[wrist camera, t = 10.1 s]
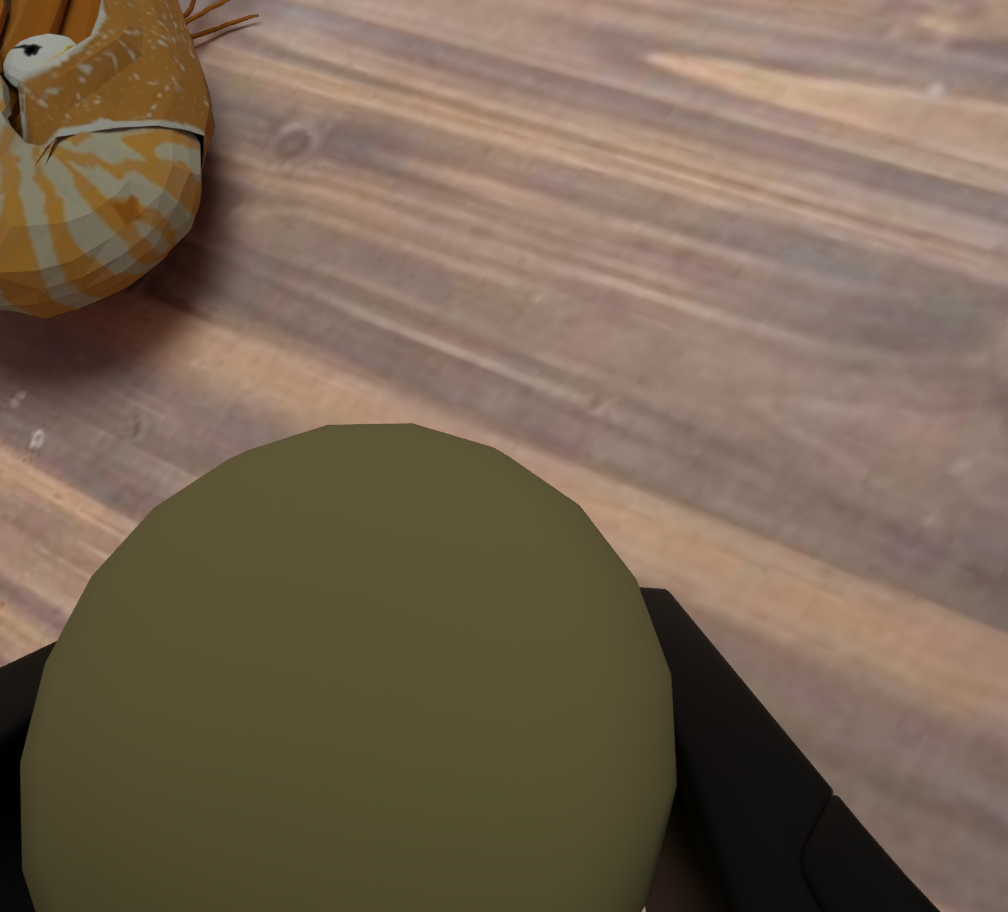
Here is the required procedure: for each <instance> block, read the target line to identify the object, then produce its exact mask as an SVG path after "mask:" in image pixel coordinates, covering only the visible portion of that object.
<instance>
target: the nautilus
mask: <svg viewBox="0 0 1008 912" xmlns="http://www.w3.org/2000/svg"><path fill="white" fill-rule="evenodd" d="M195 1H196V0H191V2H190V6H189V8H188V9H187V10H186V12H185V13H183V14H182V11H181V9H180V5H179V2H178V0H0V310H6V311H14V312H20V313H24V314H28V315H31V316H35V317H39V318H42V319H46V318H49V317H53V316H56V315H59V314H63V313H66V312H69V311H73V310H76V309H79V308H82V307H84V306H86V305H89V304H91V303H93V302H96V301H98V300H100V299H103V298H105V297H108V296H110V295H112V294H114V293H116V292H118V291H120V290H123V289H125V288H127V287H128V286H130V285H131V284H132V283H134V282H135V281H136V280H138V279H139V278H141V277H142V276H143V275H145V274H146V273H147V272H148V271H149V270H151V269H152V268H153V267H154V266H156V265H157V264H158V263H159V262H161V261H162V260H163V259H164V258H165V257H166V256H167V254H168V253H169V251H170V250H171V249H172V248H173V247H174V246H175V245H176V244H177V243H178V242H179V241H180V240H181V239H182V238H183V237H184V236H185V235H186V234H187V233H188V232H189V231H190V230H191V227H192V224H193V222H194V219H195V216H196V214H197V211H198V208H199V206H200V199H201V192H202V183H201V171H202V168H203V164H204V161H205V158H206V154H207V151H208V148H209V144H210V141H211V137H212V134H213V131H214V127H215V126H214V119H213V113H212V106H211V99H210V93H209V90H208V87H207V83H206V80H205V77H204V74H203V71H202V68H201V65H200V62H199V60H198V56H197V53H196V50H195V47H194V44H193V41H192V39H195V38H198V37H201V36H204V35H207V34H210V33H213V32H216V31H218V30H220V29H223V28H225V27H227V26H230V25H234V24H237V23H240V22H243V21H245V20H248V19H251V18H254V17H258V16H259V15H258V14H257V15H249V16H246V17H243V18H240V19H236V20H233V21H230V22H226V23H224V24H222V25H219V26H217V27H214V28H211V29H208V30H205V31H202V32H198V33H195V34H192V35H190V33H189V30H188V27H187V24H188V23H190V22H192V21H194V20H196V19H197V18H199V17H201V16H203V15H204V14H206V13H207V12H208V11H210V10H211V9H214V8H217V7H219V6H221V5H223V4H224V3H226V2H228V1H230V0H222V1H220V2H218V3H216V4H214V5H211V6H208V7H207V8H206V9H204V10H203V11H201V12H199V13H197V14H196V15H194V16H192V17H190V18H188V19H186V20H185V18H187V17H188V16H189V15H190V14H191V12H192V11H193V9H194V5H195Z"/></svg>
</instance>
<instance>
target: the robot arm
mask: <svg viewBox="0 0 1008 912" xmlns="http://www.w3.org/2000/svg"><path fill="white" fill-rule="evenodd" d="M639 588H640V591H641V594H642V596H643V599H644V602H645V605H646V607H647V610H648V613H649V616H650V618H651V621H652V624H653V626H654V629H655V632H656V635H657V637H658V640H659V643H660V646H661V648H662V651H663V654H664V657H665V659H666V662H667V665H668V667H669V670H670V673H671V681H672V699H673V718H674V737H675V755H676V774H677V788H676V792H675V796H674V800H673V804H672V808H671V812H670V816H669V820H668V824H667V828H666V832H665V836H664V840H663V844H662V848H661V852H660V856H659V860H658V864H657V868H656V872H655V876H654V880H653V884H652V888H651V892H650V896H649V900H648V902H647V903H646V905H645V907H646V912H940V911H939V910H938V909H937V908H936V907H935V906H934V905H933V903H932V902H931V901H930V900H929V899H928V898H927V897H926V896H925V895H924V894H923V893H922V892H921V891H920V890H919V889H918V888H917V887H916V885H915V884H914V883H913V882H912V881H911V880H910V879H909V878H908V877H907V876H906V875H905V874H904V872H903V871H902V870H901V869H900V868H899V867H898V865H897V864H896V863H895V862H894V861H893V860H892V859H891V857H890V856H889V855H888V854H887V853H886V852H885V851H884V849H883V848H882V847H881V846H880V845H879V844H878V842H877V841H876V840H875V839H874V838H873V837H872V836H871V834H870V833H869V832H868V831H867V830H866V829H865V827H864V826H863V825H862V824H861V823H860V821H859V820H858V819H857V818H856V817H855V815H854V814H853V813H852V812H851V811H850V809H849V808H848V807H847V806H846V805H845V803H844V802H843V801H842V800H841V798H840V797H839V796H836V795H833V790H832V788H831V787H830V786H829V784H828V783H827V782H826V781H825V780H824V778H823V777H822V776H821V775H820V774H819V772H818V771H817V770H816V769H815V767H814V766H813V765H812V764H811V763H810V761H809V760H808V759H807V758H806V757H805V755H804V754H803V753H802V752H801V751H800V749H799V748H798V747H797V746H796V745H795V743H794V742H793V741H792V740H791V738H790V737H789V736H788V735H787V734H786V732H785V731H784V730H783V729H782V728H781V726H780V725H779V724H778V723H777V722H776V720H775V719H774V718H773V717H772V715H771V714H770V713H769V712H768V711H767V709H766V708H765V707H764V706H763V705H762V703H761V702H760V701H759V700H758V699H757V697H756V696H755V695H754V694H753V692H752V691H751V690H750V689H749V688H748V686H747V685H746V684H745V683H744V682H743V680H742V679H741V678H740V677H739V676H738V674H737V673H736V672H735V671H734V669H733V668H732V667H731V666H730V665H729V663H728V662H727V661H726V660H725V659H724V657H723V656H722V655H721V654H720V653H719V651H718V650H717V649H716V648H715V647H714V645H713V644H712V643H711V642H710V640H709V639H708V638H707V637H706V636H705V634H704V633H703V632H702V631H701V630H700V628H699V627H698V626H697V625H696V624H695V622H694V621H693V620H692V619H691V617H690V616H689V615H688V614H687V613H686V611H685V610H684V609H683V608H682V607H681V605H680V604H679V603H678V602H677V601H676V599H675V598H674V597H673V596H672V594H671V593H670V592H669V591H667V590H666V589H658V588H644V587H639ZM56 642H57V641H56ZM56 642H54V643H52V644H50V645H47V646H45V647H43V648H41V649H39V650H37V651H35V652H33V653H30V654H28V655H26V656H24V657H22V658H20V659H18V660H16V661H13V662H11V663H9V664H7V665H5V666H3V667H1V668H0V912H36V911H35V908H34V905H33V902H32V899H31V895H30V892H29V889H28V886H27V883H26V880H25V877H24V874H23V871H22V837H21V782H20V762H21V758H22V754H23V750H24V746H25V742H26V738H27V734H28V730H29V726H30V722H31V718H32V714H33V710H34V706H35V702H36V698H37V694H38V690H39V686H40V682H41V678H42V674H43V670H44V666H45V662H46V661H47V659H48V657H49V655H50V653H51V651H52V649H53V648H54V646H55V644H56Z"/></svg>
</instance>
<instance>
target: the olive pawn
mask: <svg viewBox="0 0 1008 912" xmlns="http://www.w3.org/2000/svg"><path fill="white" fill-rule="evenodd" d="M20 782H21V837H22V871H23V874H24V877H25V880H26V883H27V886H28V889H29V892H30V895H31V899H32V902H33V905H34V908H35V911H36V912H641V911H642V910H643V908H644V906H645V905H646V903H647V902H648V900H649V896H650V892H651V888H652V884H653V880H654V876H655V872H656V868H657V864H658V860H659V856H660V852H661V848H662V844H663V840H664V836H665V832H666V828H667V824H668V820H669V816H670V812H671V808H672V804H673V800H674V796H675V792H676V788H677V774H676V755H675V737H674V718H673V699H672V681H671V673H670V670H669V667H668V665H667V662H666V659H665V657H664V654H663V651H662V648H661V646H660V643H659V640H658V637H657V635H656V632H655V629H654V626H653V624H652V621H651V618H650V616H649V613H648V610H647V607H646V605H645V602H644V599H643V596H642V594H641V591H640V588H639V586H638V583H637V580H636V578H635V577H634V576H633V574H632V573H631V572H630V570H629V569H628V568H627V567H626V565H625V564H624V563H623V561H622V560H621V559H620V557H619V556H618V555H617V554H616V552H615V551H614V550H613V548H612V547H611V546H610V544H609V543H608V542H607V541H606V539H605V538H604V537H603V535H602V534H601V533H600V531H599V530H598V529H597V528H596V526H595V525H594V524H593V522H592V521H591V520H590V518H589V517H588V516H587V515H586V513H585V512H584V511H583V509H582V508H581V507H580V505H578V504H577V503H575V502H574V501H572V500H571V499H570V498H568V497H567V496H565V495H564V494H562V493H561V492H559V491H558V490H556V489H555V488H554V487H552V486H551V485H549V484H548V483H546V482H545V481H543V480H542V479H541V478H539V477H538V476H536V475H535V474H533V473H532V472H530V471H529V470H527V469H526V468H525V467H523V466H522V465H520V464H519V463H517V462H516V461H514V460H513V459H512V458H510V457H509V456H507V455H505V454H504V453H502V452H500V451H499V450H497V449H495V448H493V447H490V446H487V445H483V444H480V443H476V442H473V441H470V440H466V439H463V438H460V437H456V436H453V435H449V434H446V433H443V432H439V431H436V430H433V429H429V428H426V427H422V426H419V425H416V424H412V423H408V424H354V425H326V426H323V427H320V428H317V429H314V430H310V431H307V432H304V433H301V434H298V435H295V436H292V437H288V438H285V439H282V440H279V441H276V442H273V443H270V444H266V445H263V446H260V447H257V448H254V449H251V450H248V451H245V452H243V453H241V454H239V455H237V456H234V457H232V458H230V459H228V460H227V461H225V462H224V463H222V464H220V465H219V466H217V467H216V468H214V469H213V470H211V471H210V472H208V473H207V474H205V475H204V476H202V477H201V478H199V479H197V480H196V481H194V482H193V483H191V484H190V485H188V486H187V487H185V488H184V489H182V490H181V491H179V492H178V493H176V494H175V495H173V496H171V497H170V498H168V499H167V500H165V501H164V502H162V503H161V504H159V505H158V506H156V507H155V508H154V509H153V510H152V511H151V512H150V513H149V514H148V515H147V516H146V517H145V518H144V520H143V521H142V522H141V523H140V524H139V525H138V526H137V527H136V528H135V529H134V531H133V532H132V533H131V534H130V535H129V536H128V537H127V538H126V539H125V540H124V542H123V543H122V544H121V545H120V546H119V547H118V548H117V549H116V550H115V551H114V553H113V554H112V555H111V556H110V557H109V558H108V559H107V560H106V561H105V562H104V563H103V565H102V566H101V567H100V568H99V569H98V570H97V571H96V572H95V573H94V574H93V576H92V577H91V579H90V580H89V582H88V584H87V586H86V588H85V590H84V592H83V594H82V595H81V597H80V599H79V601H78V603H77V605H76V607H75V608H74V610H73V612H72V614H71V616H70V618H69V620H68V621H67V623H66V625H65V627H64V629H63V631H62V633H61V634H60V636H59V638H58V640H57V642H56V644H55V646H54V648H53V649H52V651H51V653H50V655H49V657H48V659H47V661H46V662H45V666H44V670H43V674H42V678H41V682H40V686H39V690H38V694H37V698H36V702H35V706H34V710H33V714H32V718H31V722H30V726H29V730H28V734H27V738H26V742H25V746H24V750H23V754H22V758H21V762H20Z"/></svg>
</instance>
